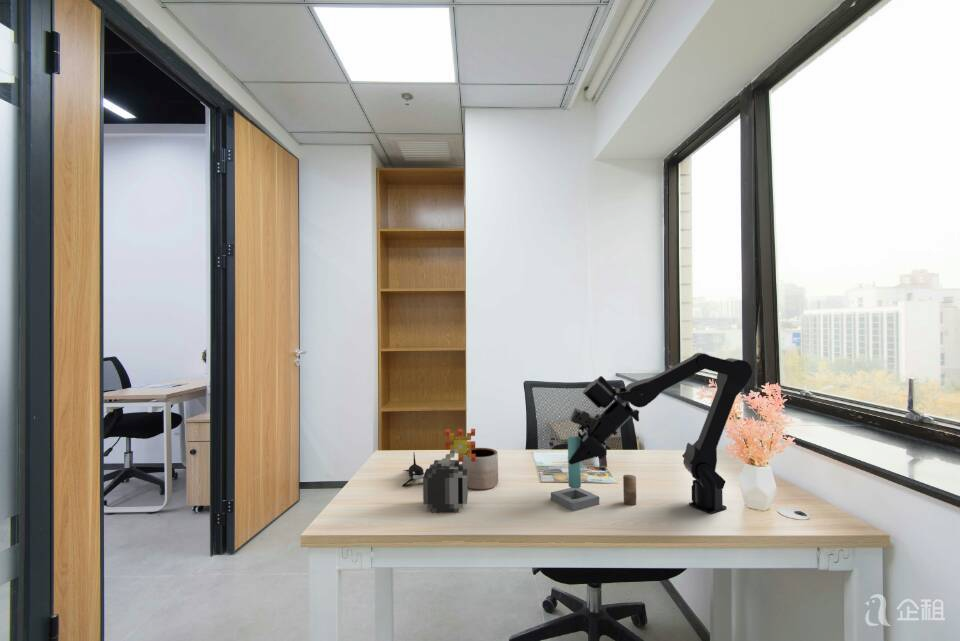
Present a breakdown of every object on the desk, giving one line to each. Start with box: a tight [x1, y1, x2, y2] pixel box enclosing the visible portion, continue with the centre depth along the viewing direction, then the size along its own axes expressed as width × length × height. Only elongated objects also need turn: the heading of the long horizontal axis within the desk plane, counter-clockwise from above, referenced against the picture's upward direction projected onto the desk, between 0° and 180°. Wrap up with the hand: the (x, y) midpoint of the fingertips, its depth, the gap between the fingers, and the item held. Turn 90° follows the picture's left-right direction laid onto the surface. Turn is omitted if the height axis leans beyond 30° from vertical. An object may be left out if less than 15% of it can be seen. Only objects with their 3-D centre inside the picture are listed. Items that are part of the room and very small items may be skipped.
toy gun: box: [598, 445, 608, 469], centre depth 160 cm, size 2×21×10 cm, turn 175°
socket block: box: [550, 487, 600, 512], centre depth 122 cm, size 9×9×2 cm
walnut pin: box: [622, 474, 637, 507], centre depth 121 cm, size 3×3×7 cm
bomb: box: [422, 428, 476, 514], centre depth 120 cm, size 8×13×20 cm, turn 90°
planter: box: [461, 447, 499, 491], centre depth 137 cm, size 11×11×10 cm
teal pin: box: [567, 435, 582, 488], centre depth 122 cm, size 3×3×13 cm
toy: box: [402, 453, 425, 487], centre depth 143 cm, size 21×10×10 cm, turn 18°
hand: (569, 461), depth 123 cm, fingers closed on teal pin, 3 cm apart
